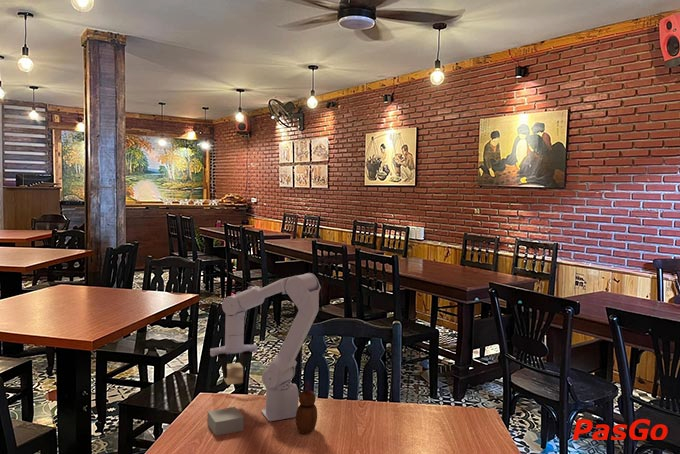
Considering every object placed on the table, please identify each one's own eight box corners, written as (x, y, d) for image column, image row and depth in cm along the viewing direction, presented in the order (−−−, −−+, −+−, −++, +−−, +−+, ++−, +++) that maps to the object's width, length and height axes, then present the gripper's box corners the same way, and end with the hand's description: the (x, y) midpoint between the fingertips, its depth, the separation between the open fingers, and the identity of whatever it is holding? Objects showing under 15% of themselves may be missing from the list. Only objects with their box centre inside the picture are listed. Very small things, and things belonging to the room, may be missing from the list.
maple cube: (238, 377, 164) (239, 362, 164) (242, 382, 160) (243, 367, 159) (223, 379, 162) (224, 364, 162) (227, 384, 158) (227, 368, 157)
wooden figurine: (313, 437, 140) (314, 383, 140) (292, 434, 141) (294, 381, 141) (318, 426, 147) (320, 375, 146) (299, 424, 148) (301, 373, 147)
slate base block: (234, 420, 150) (234, 406, 150) (243, 431, 143) (243, 417, 143) (207, 425, 146) (207, 411, 146) (215, 436, 139) (215, 422, 139)
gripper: (253, 328, 167) (252, 369, 167) (208, 332, 160) (207, 374, 161) (259, 333, 160) (258, 376, 161) (213, 337, 154) (212, 382, 155)
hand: (233, 376), depth 161 cm, fingers closed on maple cube, 5 cm apart
